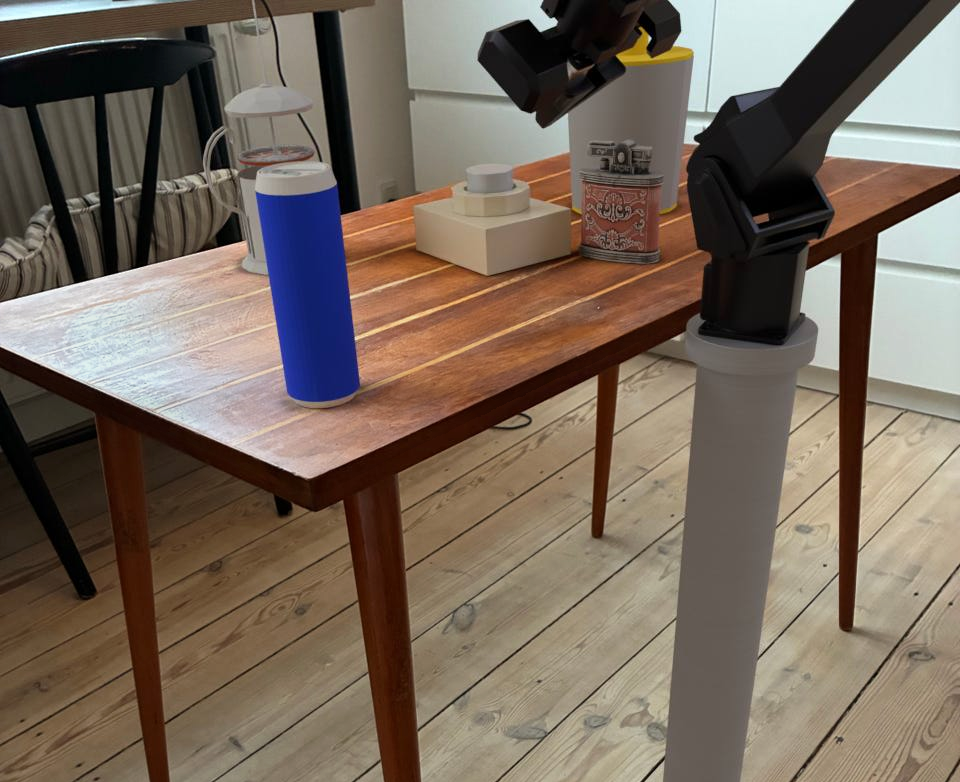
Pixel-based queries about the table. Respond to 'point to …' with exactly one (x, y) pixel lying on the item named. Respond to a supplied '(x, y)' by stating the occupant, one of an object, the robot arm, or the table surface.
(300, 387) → the beverage can
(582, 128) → the white tapered piece
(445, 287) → the table surface
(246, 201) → the french press
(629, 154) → the lighter
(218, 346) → the table surface
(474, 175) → the grey push button
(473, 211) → the push button base
